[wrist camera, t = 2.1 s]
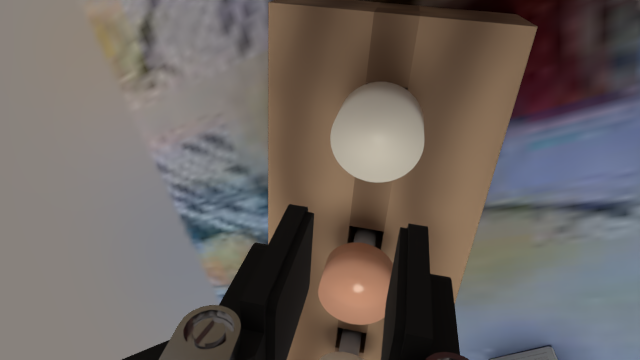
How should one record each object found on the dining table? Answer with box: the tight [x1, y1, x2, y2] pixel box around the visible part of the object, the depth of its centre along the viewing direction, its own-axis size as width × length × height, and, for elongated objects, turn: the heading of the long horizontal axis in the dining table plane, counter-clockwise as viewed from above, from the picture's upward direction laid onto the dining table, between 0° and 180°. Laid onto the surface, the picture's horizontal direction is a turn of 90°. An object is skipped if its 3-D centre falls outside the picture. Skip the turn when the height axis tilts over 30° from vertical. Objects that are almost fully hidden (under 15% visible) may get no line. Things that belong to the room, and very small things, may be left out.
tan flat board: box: [268, 0, 537, 360], centre depth 31 cm, size 14×30×5 cm, turn 177°
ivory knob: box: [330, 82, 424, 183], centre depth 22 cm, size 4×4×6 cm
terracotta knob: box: [318, 227, 393, 325], centre depth 27 cm, size 4×4×6 cm
